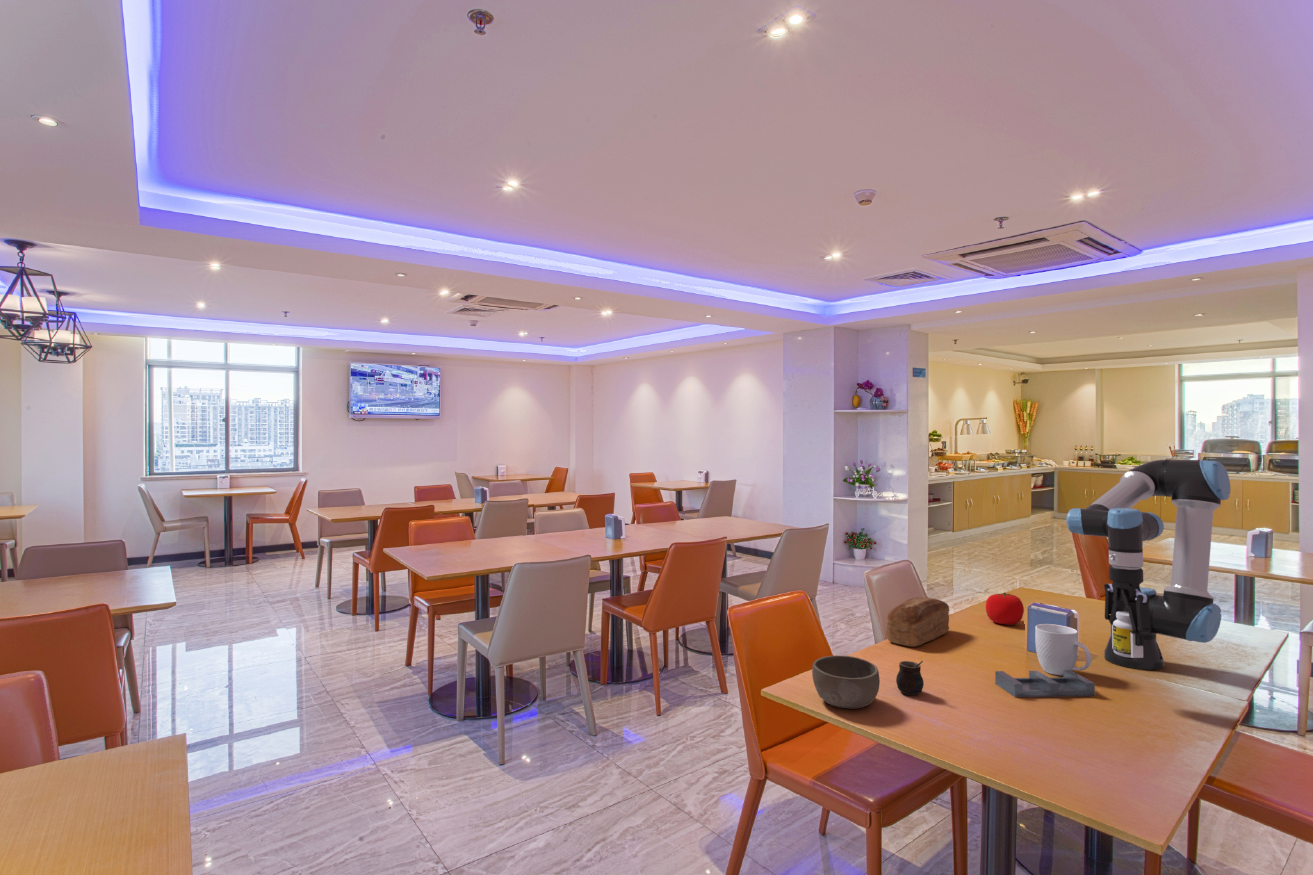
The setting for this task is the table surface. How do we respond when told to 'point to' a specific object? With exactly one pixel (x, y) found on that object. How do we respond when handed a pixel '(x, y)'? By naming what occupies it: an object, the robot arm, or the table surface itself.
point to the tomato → (1004, 609)
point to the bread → (917, 621)
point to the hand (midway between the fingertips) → (1127, 652)
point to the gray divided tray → (1046, 685)
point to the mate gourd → (909, 678)
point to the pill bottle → (1122, 634)
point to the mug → (1058, 648)
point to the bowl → (846, 681)
